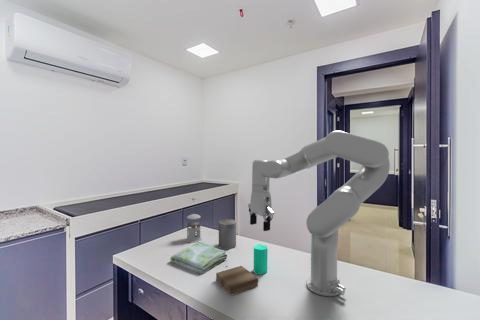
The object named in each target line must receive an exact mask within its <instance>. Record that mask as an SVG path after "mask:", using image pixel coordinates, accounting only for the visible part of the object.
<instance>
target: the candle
mask: <svg viewBox="0 0 480 320" xmlns="http://www.w3.org/2000/svg"><path fill="white" fill-rule="evenodd" d="M253 272H254V273H255V274H257V275H264V274H266V273H268V247H267V245H264V244H261V243H260V244H255V245H254V246H253Z"/></svg>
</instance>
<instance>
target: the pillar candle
mask: <svg viewBox="0 0 480 320" xmlns="http://www.w3.org/2000/svg"><path fill="white" fill-rule="evenodd" d="M218 247H219V248H220V249H221V250H231V249H234V248H236V247H237V221H236V220H235V219H233V218H232V219H231V218H225V219H220V220H218Z"/></svg>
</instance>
